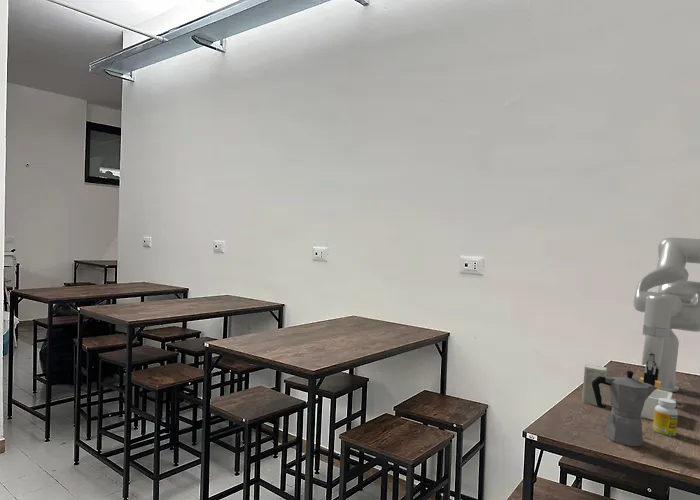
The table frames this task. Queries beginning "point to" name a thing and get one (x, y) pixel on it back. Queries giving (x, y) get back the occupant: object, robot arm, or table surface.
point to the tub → (653, 403)
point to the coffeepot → (624, 407)
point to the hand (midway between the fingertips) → (650, 382)
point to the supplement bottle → (665, 417)
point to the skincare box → (590, 375)
